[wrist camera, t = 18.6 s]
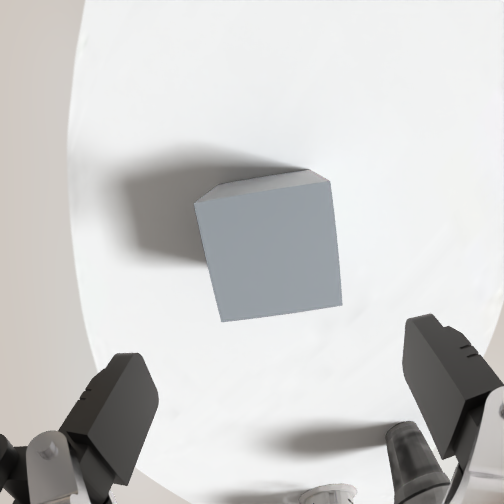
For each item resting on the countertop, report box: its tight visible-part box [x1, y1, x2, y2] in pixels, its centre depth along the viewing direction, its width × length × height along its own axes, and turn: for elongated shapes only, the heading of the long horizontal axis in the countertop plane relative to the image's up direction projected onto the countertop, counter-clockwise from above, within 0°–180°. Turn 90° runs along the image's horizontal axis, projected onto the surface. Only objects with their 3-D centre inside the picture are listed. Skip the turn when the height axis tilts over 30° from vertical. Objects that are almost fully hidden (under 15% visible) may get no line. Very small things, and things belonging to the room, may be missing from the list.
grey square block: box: [194, 170, 342, 322], centre depth 22 cm, size 7×7×9 cm
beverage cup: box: [386, 421, 450, 504], centre depth 24 cm, size 7×7×20 cm
